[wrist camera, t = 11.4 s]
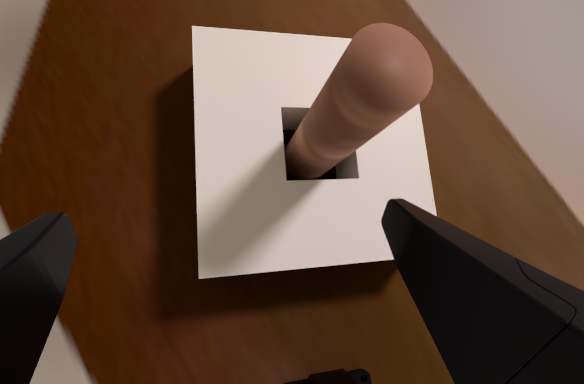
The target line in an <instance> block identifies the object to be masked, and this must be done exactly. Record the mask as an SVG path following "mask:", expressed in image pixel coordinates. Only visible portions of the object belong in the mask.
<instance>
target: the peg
mask: <svg viewBox="0 0 584 384" xmlns="http://www.w3.org/2000/svg"><path fill="white" fill-rule="evenodd" d="M432 81H433V69H432V64H431V60H430V58H429V55H428V53H427V51H426V50H425V48H424V47H423V45H422V44H421V43H420V42H419V40H418V39H417V38H416V37H415V36H413V35H412V34H411V33H410V32H408V31H406V30H405V29H403V28H401V27H399V26H396V25H392V24H387V23H376V24H371V25H368V26H366V27H364V28H362V29H361V30H359V31H358V32H357V33H356V34H355V36H354V37H353V38H352V40H351V42H350V43H349V45H348V46H347V48H346V50H345V51H344V53H343V55H342V56H341V58H340V60H339V61H338V63H337V64H336V66H335V68H334V69H333V71H332V73H331V74H330V76H329V78H328V79H327V81H326V82H325V84H324V86H323V87H322V89H321V91H320V92H319V94H318V96H317V97H316V99H315V100H314V102H313V104H312V105H311V107H310V109H309V110H308V112H307V114H306V115H305V117H304V118H303V120H302V122H301V123H300V125H299V127H298V128H297V130H296V132H295V133H294V135H293V136H292V138H291V140H290V141H289V143H288V145H287V146H286V148H285V150H284V153H285V167H286V171H287V173H288V174H289V175H290V176H291V177H292V178H294V179H296V180H316V179H318V178H319V177H321V176H322V175H323V174H325V173H326V172H327V171H329V170H330V169H331V168H333V167H334V166H335V165H337V164H338V163H339V162H341V161H342V160H343V159H345V158H346V157H347V156H349V155H350V154H351V153H353V152H354V151H356V150H357V149H358V148H360V147H361V146H362V145H364V144H365V143H366V142H368V141H369V140H370V139H372V138H373V137H374V136H376V135H377V134H378V133H380V132H381V131H382V130H384V129H385V128H386V127H388V126H389V125H391V124H392V123H393V122H395V121H396V120H397V119H399V118H400V117H401V116H403V115H404V114H405V113H407V112H408V111H409V110H411V109H412V108H413V107H415V106H416V105H417V104H419V103H420V102H421V101H422V100H423V99H424V98H425V97H426V96H427V94H428V93H429V91H430V88H431V85H432Z"/></svg>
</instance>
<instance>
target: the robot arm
mask: <svg viewBox="0 0 584 384" xmlns="http://www.w3.org/2000/svg"><path fill="white" fill-rule="evenodd" d="M381 224H382V228H383V230H384V233H385V236H386V239H387V241H388V244H389V247H390V249H391V252H392V255H393V258H394V260H395V263H396V265H397V267H398V270H399V272H400V274H401V276H402V278H403V280H404V282H405V284H406V286H407V288H408V290H409V292H410V294H411V296H412V298H413V300H414V302H415V304H416V306H417V308H418V310H419V312H420V314H421V316H422V318H423V320H424V322H425V324H426V326H427V328H428V330H429V332H430V334H431V336H432V338H433V340H434V342H435V344H436V346H437V348H438V350H439V352H440V354H441V357H442V359H443V361H444V363H445V365H446V367H447V369H448V371H449V373H450V375H451V377H452V379H453V381H454V383H455V384H584V291H583V290H581V289H579V288H577V287H575V286H573V285H571V284H568V283H566V282H564V281H562V280H560V279H558V278H556V277H554V276H552V275H550V274H548V273H546V272H544V271H542V270H540V269H538V268H536V267H534V266H532V265H530V264H528V263H526V262H524V261H522V260H520V259H518V258H516V257H513V256H512V255H510V254H508V253H507V252H505V251H503V250H501V249H499V248H497V247H495V246H493V245H491V244H489V243H487V242H485V241H483V240H481V239H480V238H478V237H476V236H474V235H472V234H470V233H468V232H466V231H464V230H462V229H460V228H458V227H456V226H454V225H453V224H451V223H449V222H447V221H445V220H443V219H441V218H439V217H437V216H435V215H433V214H431V213H429V212H428V211H426V210H424V209H422V208H420V207H418V206H416V205H414V204H412V203H410V202H408V201H406V200H404V199H402V198H395V199H390V200H389V201H388V202H387V204H386V207H385V210H384V213H383V216H382V219H381ZM76 248H77V235H76V233H75V230H74V228H73V225H72V223H71V220H70V218H69V216H68V215H67V214H66V213H64V212H58V213H46V214H44V215H42V216H40V217H39V218H37V219H35V220H33V221H32V222H30V223H28V224H27V225H25V226H23V227H21V228H20V229H18V230H16V231H15V232H13V233H11V234H9V235H8V236H6V237H4V238H3V239H1V240H0V384H29V383H30V381H31V378H32V376H33V373H34V371H35V368H36V366H37V363H38V361H39V358H40V356H41V353H42V351H43V348H44V346H45V343H46V340H47V338H48V336H49V333H50V331H51V328H52V326H53V323H54V321H55V318H56V316H57V313H58V311H59V308H60V306H61V303H62V300H63V297H64V294H65V290H66V286H67V283H68V279H69V275H70V271H71V267H72V263H73V259H74V256H75V252H76ZM362 375H365V378H364V380H361V376H362ZM284 384H371V377H370V374H369V373H368V372H367V371H366V370H364V369H357V370H352V371H347V372H346V371H345V370H344V369H339V370H333V371H328V372H322V373H317V374H311V375H310V376H309V377H308V379H304V380H298V381H293V382H287V383H284Z"/></svg>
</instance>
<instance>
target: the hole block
mask: <svg viewBox="0 0 584 384" xmlns="http://www.w3.org/2000/svg"><path fill="white" fill-rule="evenodd" d="M351 40H352V39H348V38H336V37H323V36H311V35H298V34H286V33H274V32H261V31H249V30H236V29H224V28H212V27H199V26H192V44H193V82H194V120H195V158H196V197H197V235H198V273H199V279H203V278H213V277H223V276H233V275H243V274H253V273H263V272H273V271H284V270H294V269H304V268H314V267H324V266H334V265H344V264H354V263H364V262H374V261H384V260H394V258H393V255H392V252H391V249H390V247H389V244H388V241H387V239H386V236H385V233H384V230H383V228H382V224H381V219H382V216H383V213H384V210H385V207H386V204H387V202H388V201H389V200H390V199H395V198H402V199H404V200H406V201H408V202H410V203H412V204H414V205H416V206H418V207H420V208H422V209H424V210H426V211H428V212H429V213H431V214H433V215H435V216H437V215H436V209H435V202H434V196H433V190H432V183H431V177H430V171H429V164H428V158H427V151H426V145H425V139H424V132H423V126H422V120H421V113H420V107H419V104H417V105H416V106H415V107H413V108H412V109H411V110H409V111H408V112H407V113H405V114H404V115H403V116H401V117H400V118H399V119H397V120H396V121H395V122H393V123H392V124H391V125H389V126H388V127H386V128H385V129H384V130H382V131H381V132H380V133H378V134H377V135H376V136H374V137H373V138H372V139H370V140H369V141H368V142H366V143H365V144H364V145H362V146H361V147H360V148H358V149H357V150H356V151H354V152H353V153H351V154H350V155H349V156H347V157H346V158H345V159H343V160H342V161H341V162H339V163H338V164H337V165H335V168H336V177H337V179H327V180H295V181H287V180H286V167H285V153H284V140H283V130H297V128H298V127H299V125H300V123H301V122H302V120H303V118H304V117H305V115H306V114H307V112H308V110H309V109H310V107H311V105H312V104H313V102H314V100H315V99H316V97H317V96H318V94H319V92H320V91H321V89H322V87H323V86H324V84H325V82H326V81H327V79H328V78H329V76H330V74H331V73H332V71H333V69H334V68H335V66H336V64H337V63H338V61H339V60H340V58H341V56H342V55H343V53H344V51H345V50H346V48H347V46H348V45H349V43H350V42H351Z"/></svg>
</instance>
